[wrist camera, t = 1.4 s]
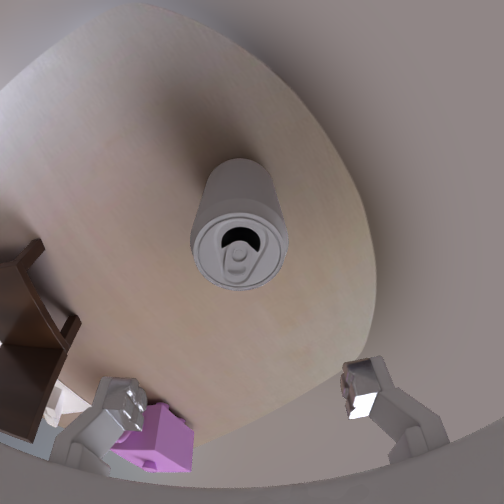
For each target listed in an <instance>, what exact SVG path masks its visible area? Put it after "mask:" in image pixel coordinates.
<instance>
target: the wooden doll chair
mask: <svg viewBox="0 0 504 504" xmlns="http://www.w3.org/2000/svg"><path fill="white" fill-rule="evenodd" d="M44 250H45V248H44V245H43V243H42V241H41V239H36V240H32V241H31V242H30V243H29V244H28V245H27V246H26V248H25V249H24V250H23V251H22V252H21V253H20V254H19V255H18V256H17V257H16V258H15V259H14V260H13V261H11V262H4V263H0V341H1V343H2V345H1V346H0V432H2V433H5V434H8V435H10V436H12V437H15V438H18V439H20V440H24V441H26V442H29V443H32V444H33V442H34V439H35V436H36V433H37V430H38V427H39V424H40V422H41V419H42V416H43V413H44V411H45V408H46V406H47V403H48V400H49V398H50V395H51V393H52V390H53V388H54V385H55V383H56V381H57V378H58V376H59V374H60V371H61V369H62V367H63V364H64V362H65V360H66V358H67V356H68V355H67V353H68V351H69V349H70V347H71V345H72V343H73V340H74V338H75V336H76V334H77V332H78V330H79V328H80V326H81V324H82V323H81V321H80V319H79V317H78V316H77V315H70V316H69V317H68V319H67V320H66V322H65V324H64V326H63V328H62V330H61V331H59V330H58V328H57V326H56V325H55V323H54V321H53V320H52V318H51V316H50V315H49V313H48V311H47V310H46V308H45V306H44V304H43V302H42V301H41V299H40V297H39V295H38V293H37V291H36V290H35V288H34V286H33V284H32V282H31V280H30V278H29V276H28V274H27V272H26V271H27V270H28V269H29V268H30V266H31V265H32V264H33V263H34V262H35V261H36V259H37V258H38V257H39V256H40V255H41V254H42V253H43V251H44Z"/></svg>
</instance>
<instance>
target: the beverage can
mask: <svg viewBox="0 0 504 504" xmlns="http://www.w3.org/2000/svg"><path fill="white" fill-rule="evenodd" d="M190 246H191V251H192V254H193V256H194V260H195V263H196V266H197V268H198V269H199V271H200V272H201V274H202V275H203V276H204V277H205V278H206V279H207V280H208V281H210V282H211V283H213V284H215V285H216V286H219V287H221V288H224V289H228V290H234V291H244V290H251V289H254V288H257V287H260V286H262V285H264V284H266V283H267V282H269V281H270V280H271V279H273V278H274V277H275V276H276V274H277V273H278V272H279V270H280V269H281V267H282V265H283V262H284V258H285V256H286V253H287V250H288V232H287V229H286V225H285V222H284V218H283V215H282V211H281V208H280V204H279V201H278V197H277V194H276V190H275V187H274V184H273V180H272V178H271V176H270V174H269V173H268V171H267V170H266V169H265V168H264V167H262V166H261V165H260V164H258V163H257V162H254V161H252V160H249V159H241V158H238V159H231V160H228V161H225V162H223V163H222V164H220V165H219V166H217V167H216V168H215V169H214V170H213V171H212V173H211V174H210V176H209V178H208V180H207V183H206V186H205V189H204V192H203V195H202V198H201V202H200V205H199V208H198V211H197V214H196V218H195V221H194V224H193V227H192V231H191V236H190Z"/></svg>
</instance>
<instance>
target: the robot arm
mask: <svg viewBox="0 0 504 504" xmlns="http://www.w3.org/2000/svg"><path fill="white" fill-rule="evenodd" d="M342 369H343V372H344V373H343V374H342V375H341V379H340V383H341V392H342V396H343V397H344V398H345V399H347V400H346V404H345V407H346V411H347V415H348V419H354V418H359V417H364V416H369V417H370V418H371V419H372V420H373V421H374V422H375V423H376V424H377V425H378V426H379V427H380V428H382V430H384V431H385V432H386V433H387V434H388V435H389V436H390V437H391V438H392V439H393V440H394V441H395V442H396V445H395V446H394V447H393V449H392V450H391V451H390V453H389V454H388V457H389V461H390V465H386V466H383V467H380V468H376V469H372V470H368V471H364V472H360V473H355V474H351V475H346V476H341V477H336V478H331V479H326V480H319V481H313V482H306V483H298V484H290V485H281V486H270V487H269V486H268V487H252V488H195V487H179V486H167V485H158V484H149V483H142V482H135V481H128V480H123V479H118V478H112V477H109V474H110V466H109V465H108V464H106V463H105V462H103V461H102V460H101V459H102V458H103V457H104V456H105V455H106V453H107V452H108V451H109V450H110V448H111V447H112V446H113V445H114V444H115V442H116V441H117V440H118V439H119V437H120V436H121V435H122V434H123V432H124V430H128V431H142V428H143V423H144V417H143V415H142V413H143V412H144V411H145V410H146V408H147V396H146V392H145V391H144V389H142V388H141V387H139V382H138V380H137V379H136V378H120V377H105V376H103V377H102V378H101V380H100V383H99V386H98V389H97V392H96V395H95V398H94V401H93V404H92V407H88V408H87V409H86V410H85V411H84V412H83V413H82V414H80V415H79V416H78V417H77V418H76V419H75V420H74V421H73V422H72V423H71V424H70V425H68V426H67V427H66V428H65V429H64V430H63V431H62V432H61V433H60V434H59V435H57V436H56V438H55V441H54V444H53V448H52V451H51V454H50V458H49V461H47V460H44V459H41V458H38V457H36V456H33V455H30V454H27V453H25V452H22V451H20V450H17V449H15V448H12V447H10V446H8V445H5V444H3V443H1V442H0V504H504V417H502V418H501V419H499V420H497V421H495V422H493V423H492V424H490V425H488V426H486V427H484V428H482V429H480V430H478V431H476V432H474V433H472V434H469V435H467V436H465V437H463V438H461V439H458V440H456V441H454V442H451V443H450V441H449V439H448V436H447V434H446V431H445V429H444V426H443V423H442V421H441V418H440V416H438V415H437V414H435V413H434V412H432V411H431V410H430V409H428V408H427V407H425V406H424V405H423V404H421V403H420V402H418V401H417V400H415V399H414V398H413V397H411V396H410V395H408V394H407V393H406V392H404V391H403V390H401V389H400V388H395V387H394V384H393V382H392V379H391V377H390V374H389V372H388V369H387V367H386V364H385V362H384V359H383V357H382V356H376V357H371V358H365V359H360V360H355V361H350V362H345V363H344V364H343V367H342Z"/></svg>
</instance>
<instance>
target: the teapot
mask: <svg viewBox="0 0 504 504" xmlns="http://www.w3.org/2000/svg"><path fill="white" fill-rule="evenodd" d="M168 409H169V405H167V404H165V403H162V402H158V403H156V405H149V406H147V408H146V410H145V411H144V412H143V413H142V415H143V417H144V423H143V428H142V431H128V430H124V432H123V434H122V435H121V436H120V437H119V439H118V440H117V441H116V442H115V444H114V445H113V446H112V447H111V448H110V450H111V451H113V452H115V453H116V454H118V455H120V456H121V457H123V458H124V459H126V460H128V461H129V462H131V463H133V464H135V465H137V466H138V467H140V468H142V469H143V470H145V471H147V472H153V473H154V472H191V467H192V454H193V440H194V431H192V430H191V429H190V428H189V427H188V426H186V425H185V424H184V422H185V420H184V419H182V418H177V417H176V416H175V415H174V414H172V413H171V412H170V411H169V410H168Z"/></svg>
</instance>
